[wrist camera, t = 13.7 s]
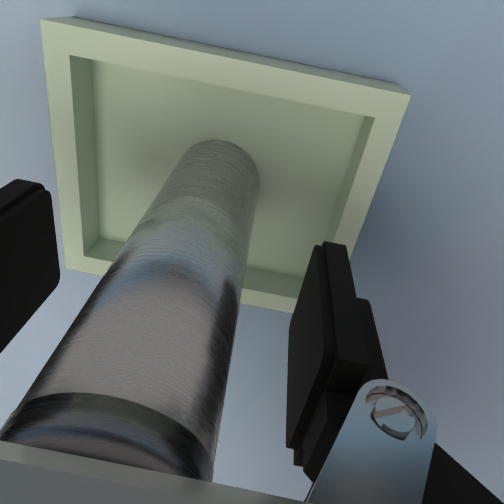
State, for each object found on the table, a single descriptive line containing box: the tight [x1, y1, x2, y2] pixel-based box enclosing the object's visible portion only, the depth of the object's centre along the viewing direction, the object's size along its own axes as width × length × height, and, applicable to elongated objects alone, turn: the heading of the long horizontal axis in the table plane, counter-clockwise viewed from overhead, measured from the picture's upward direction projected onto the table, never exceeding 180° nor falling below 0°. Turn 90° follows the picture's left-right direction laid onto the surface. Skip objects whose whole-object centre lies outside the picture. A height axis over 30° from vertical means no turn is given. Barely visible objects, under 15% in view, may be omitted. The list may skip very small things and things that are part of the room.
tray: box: [40, 17, 411, 314], centre depth 15 cm, size 11×9×2 cm
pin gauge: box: [0, 140, 259, 482], centre depth 10 cm, size 3×3×12 cm
